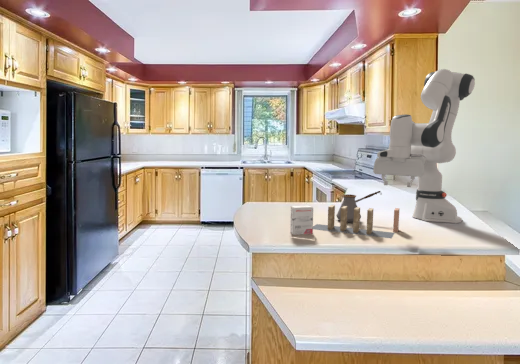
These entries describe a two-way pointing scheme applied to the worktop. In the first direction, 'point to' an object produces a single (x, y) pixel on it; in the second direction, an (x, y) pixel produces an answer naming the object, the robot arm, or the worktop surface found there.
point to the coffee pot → (351, 206)
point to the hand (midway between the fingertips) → (397, 186)
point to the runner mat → (350, 231)
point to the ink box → (301, 220)
